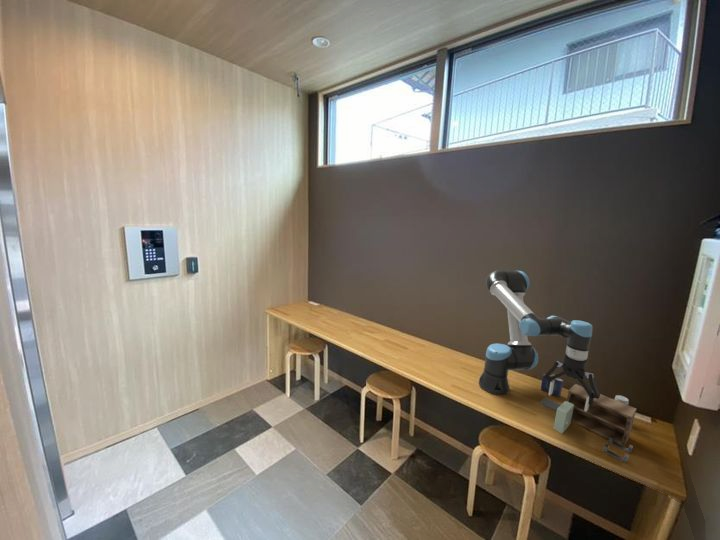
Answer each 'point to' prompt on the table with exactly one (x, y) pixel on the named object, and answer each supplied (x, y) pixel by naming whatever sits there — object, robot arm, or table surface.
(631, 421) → the cabinet
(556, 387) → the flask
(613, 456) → the hinge clips
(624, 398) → the beverage can
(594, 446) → the table surface
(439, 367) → the table surface
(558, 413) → the pale green square block
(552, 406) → the smartphone
